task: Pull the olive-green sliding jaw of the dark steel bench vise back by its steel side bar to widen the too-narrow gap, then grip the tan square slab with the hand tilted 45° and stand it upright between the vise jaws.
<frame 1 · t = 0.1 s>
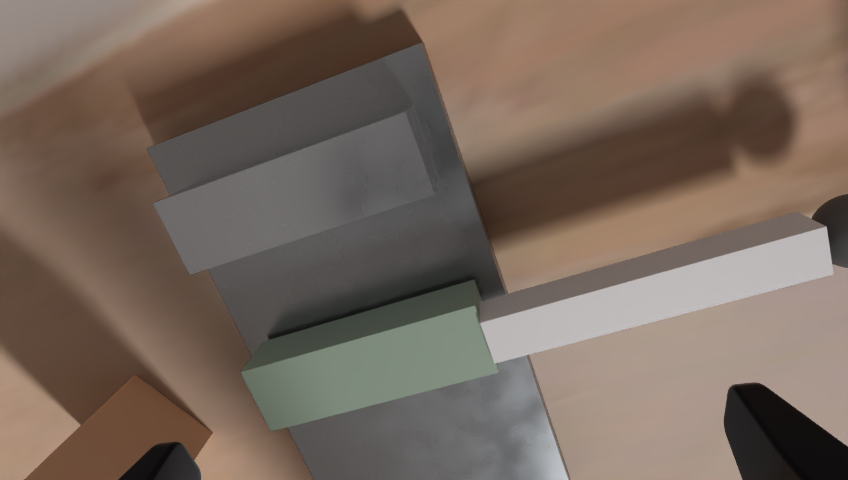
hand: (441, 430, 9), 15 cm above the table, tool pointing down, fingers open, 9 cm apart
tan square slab: (149, 431, 29), on the table
vise: (383, 322, 26), on the table
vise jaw: (543, 312, 21), point 3 cm above the table, slide at 5.5 cm
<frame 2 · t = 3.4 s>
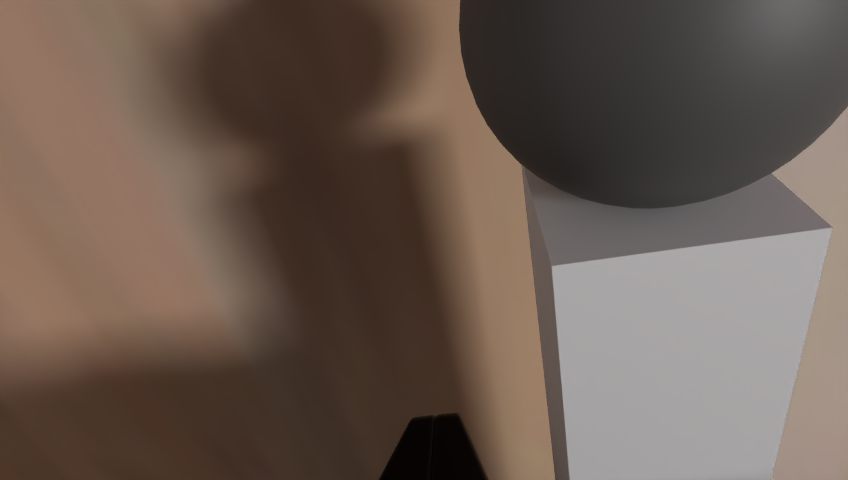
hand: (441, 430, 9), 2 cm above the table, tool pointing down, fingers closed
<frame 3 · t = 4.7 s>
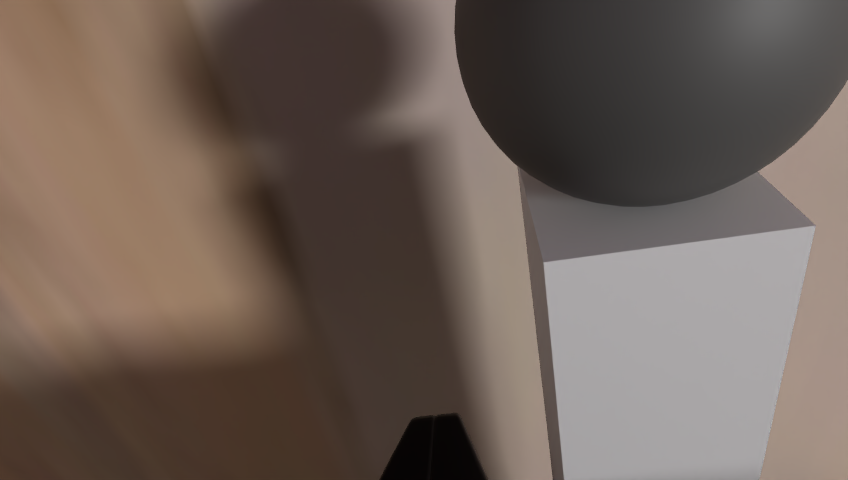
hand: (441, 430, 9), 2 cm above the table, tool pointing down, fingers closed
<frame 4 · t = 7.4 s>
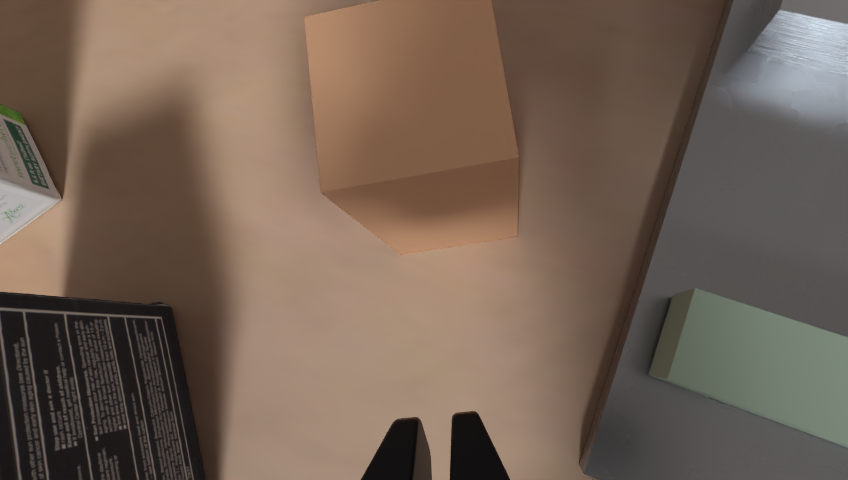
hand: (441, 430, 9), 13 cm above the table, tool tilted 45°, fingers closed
small box: (133, 438, 24), on the table
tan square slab: (450, 189, 24), on the table
syrup box: (1, 190, 28), on the table
vise: (824, 245, 21), on the table
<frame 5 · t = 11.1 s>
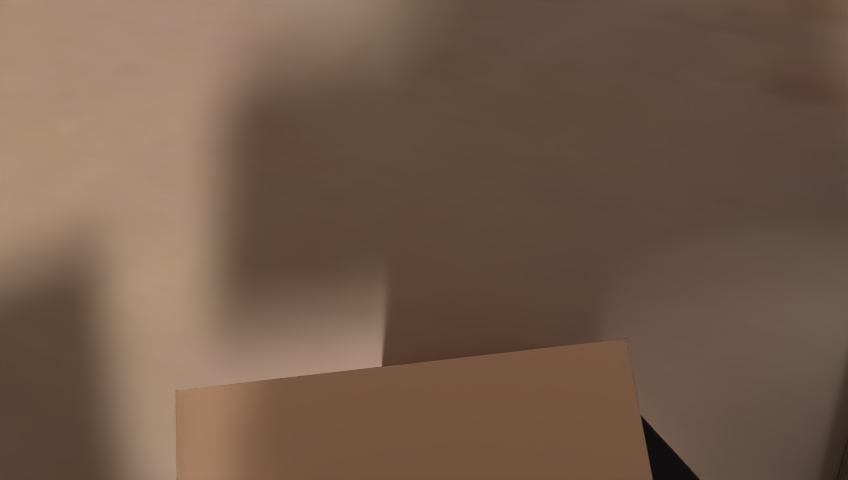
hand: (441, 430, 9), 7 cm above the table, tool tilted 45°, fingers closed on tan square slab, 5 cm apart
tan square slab: (478, 450, 15), on the table, touching gripper
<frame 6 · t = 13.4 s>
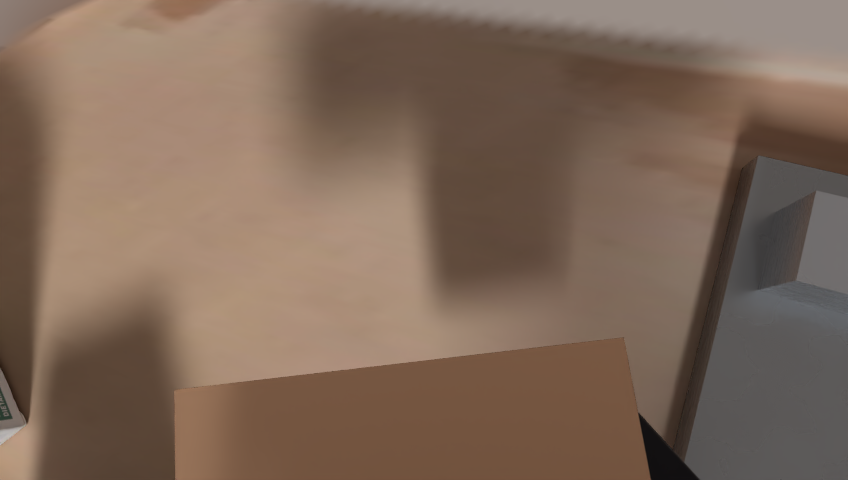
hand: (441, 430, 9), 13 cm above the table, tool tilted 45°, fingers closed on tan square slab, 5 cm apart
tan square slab: (477, 450, 15), point 7 cm above the table, touching gripper
when the fingers open (9 cm above the table, at t = 16.1 s): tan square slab drops 1 cm, resting on vise.
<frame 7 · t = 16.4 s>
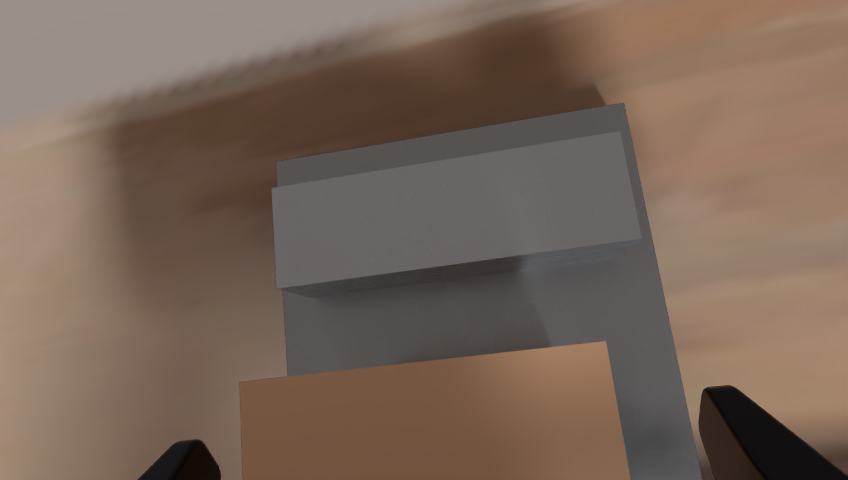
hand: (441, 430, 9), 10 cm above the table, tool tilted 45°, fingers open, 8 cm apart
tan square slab: (481, 441, 16), point 2 cm above the table, touching vise
vise: (488, 467, 18), on the table
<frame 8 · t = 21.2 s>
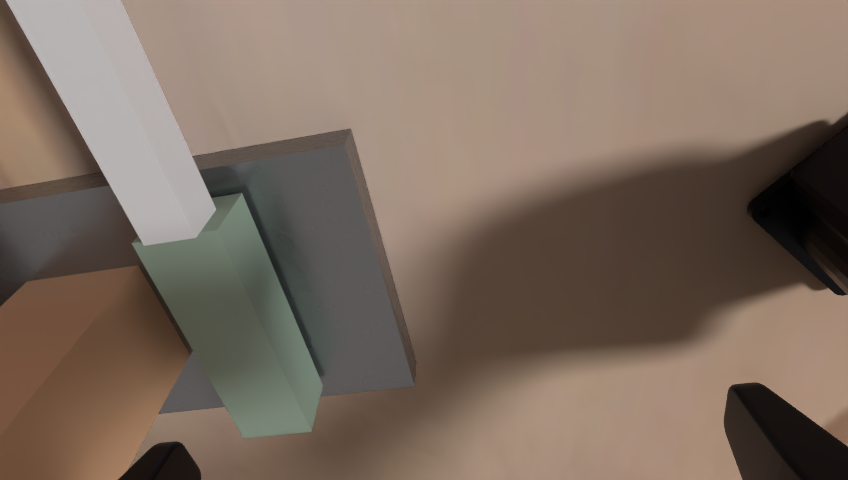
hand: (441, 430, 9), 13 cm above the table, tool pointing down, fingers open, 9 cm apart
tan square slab: (112, 319, 23), point 1 cm above the table, touching vise
vise: (149, 294, 25), on the table
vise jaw: (154, 160, 17), point 3 cm above the table, slide at 0.0 cm
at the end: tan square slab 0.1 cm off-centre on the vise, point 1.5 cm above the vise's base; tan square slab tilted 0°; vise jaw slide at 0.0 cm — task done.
